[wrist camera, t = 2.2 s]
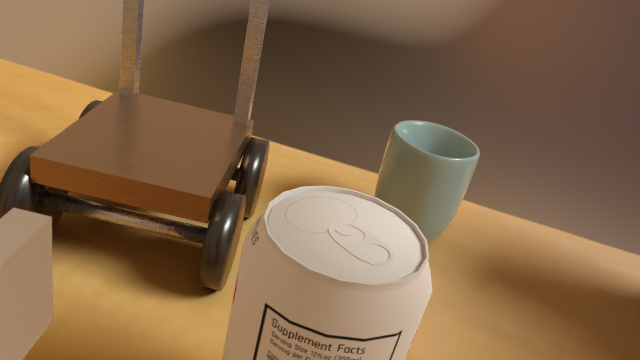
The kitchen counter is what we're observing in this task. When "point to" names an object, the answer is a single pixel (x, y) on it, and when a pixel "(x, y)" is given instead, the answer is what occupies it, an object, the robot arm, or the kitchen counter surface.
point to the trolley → (154, 159)
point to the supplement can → (329, 280)
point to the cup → (426, 174)
